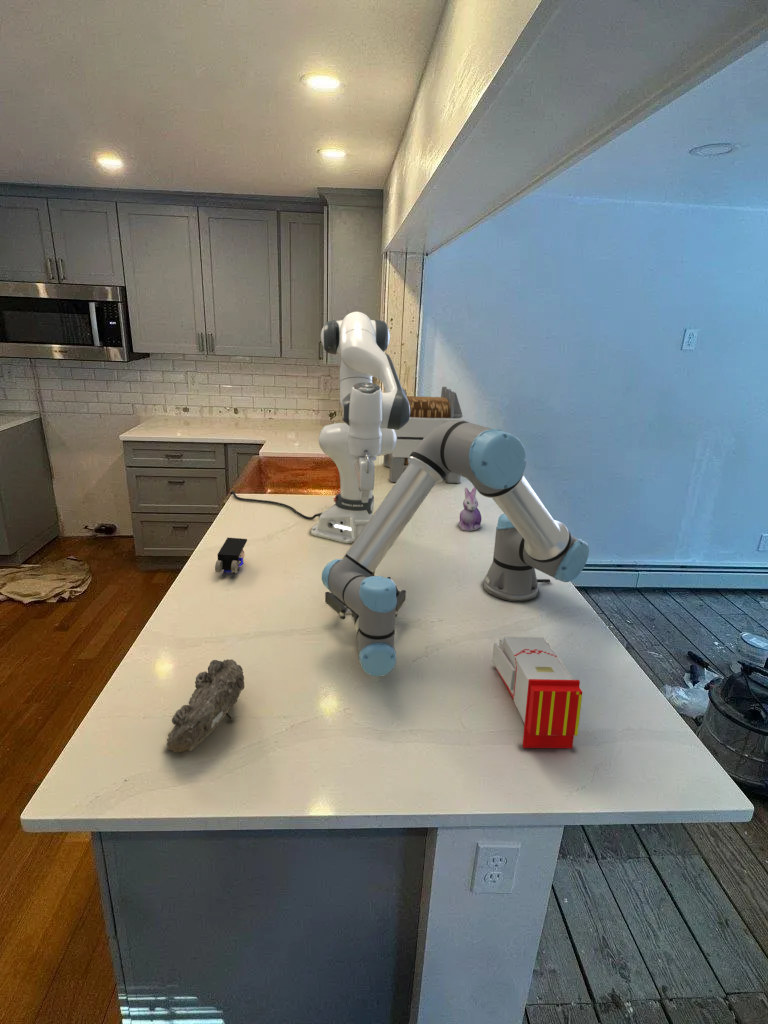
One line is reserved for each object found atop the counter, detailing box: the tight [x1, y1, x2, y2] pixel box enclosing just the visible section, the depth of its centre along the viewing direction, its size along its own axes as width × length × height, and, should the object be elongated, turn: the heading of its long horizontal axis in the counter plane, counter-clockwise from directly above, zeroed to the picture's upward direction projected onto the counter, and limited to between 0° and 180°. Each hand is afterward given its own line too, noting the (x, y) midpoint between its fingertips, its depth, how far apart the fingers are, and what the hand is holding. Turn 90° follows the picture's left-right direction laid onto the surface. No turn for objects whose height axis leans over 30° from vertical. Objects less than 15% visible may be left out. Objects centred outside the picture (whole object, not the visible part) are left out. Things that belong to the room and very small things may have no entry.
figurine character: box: [214, 537, 248, 578], centre depth 166 cm, size 7×8×15 cm
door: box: [350, 520, 369, 547], centre depth 153 cm, size 15×5×9 cm, turn 7°
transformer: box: [383, 386, 466, 484], centre depth 268 cm, size 34×33×41 cm
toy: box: [491, 636, 583, 749], centre depth 115 cm, size 12×13×30 cm
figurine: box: [458, 486, 482, 532], centre depth 206 cm, size 9×10×15 cm
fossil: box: [166, 658, 245, 754], centre depth 106 cm, size 22×10×15 cm
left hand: (363, 496), depth 154 cm, fingers open, 8 cm apart
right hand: (363, 581), depth 149 cm, fingers open, 13 cm apart
